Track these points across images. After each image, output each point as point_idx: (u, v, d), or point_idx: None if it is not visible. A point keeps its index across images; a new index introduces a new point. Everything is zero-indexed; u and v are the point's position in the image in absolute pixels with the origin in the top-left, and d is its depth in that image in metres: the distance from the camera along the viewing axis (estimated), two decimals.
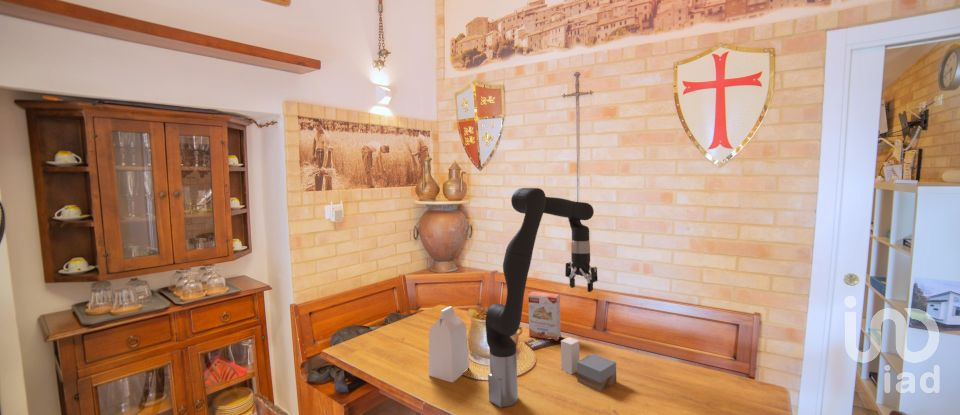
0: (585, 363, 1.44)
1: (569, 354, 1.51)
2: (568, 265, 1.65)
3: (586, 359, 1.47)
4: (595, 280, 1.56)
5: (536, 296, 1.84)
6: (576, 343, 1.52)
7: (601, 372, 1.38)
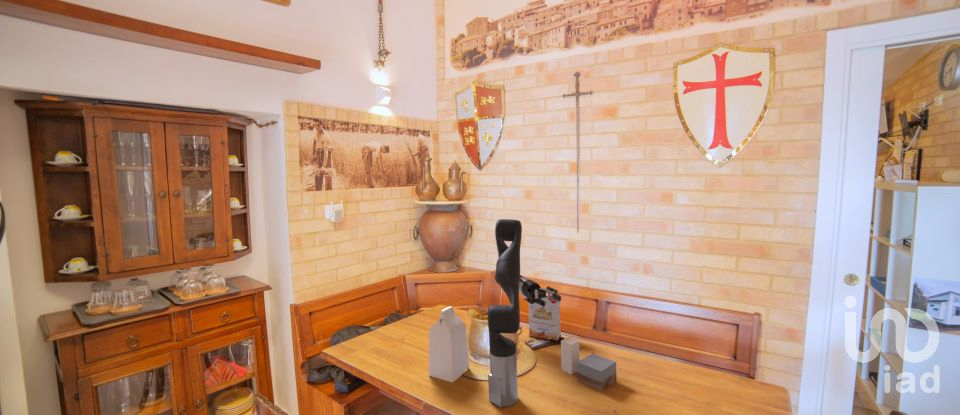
0: (585, 363, 1.44)
1: (569, 354, 1.51)
2: None
3: (586, 359, 1.47)
4: (556, 292, 1.66)
5: None
6: (576, 343, 1.52)
7: (602, 372, 1.38)
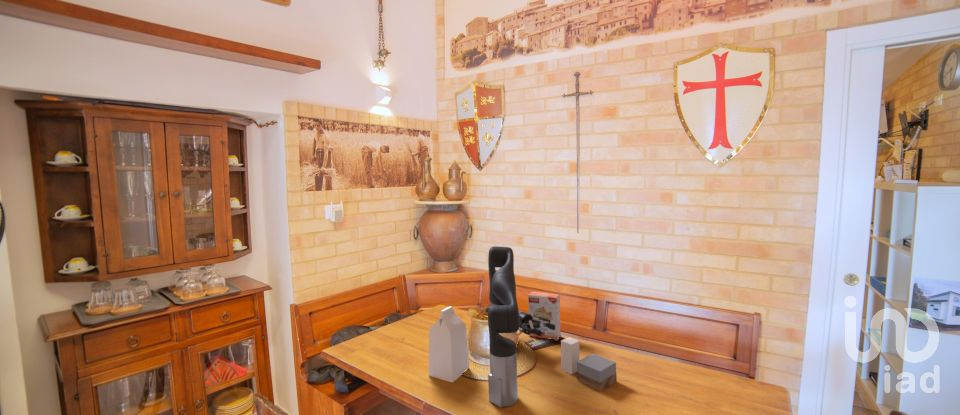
0: (585, 363, 1.44)
1: (569, 354, 1.51)
2: None
3: (586, 359, 1.47)
4: (549, 322, 1.70)
5: (536, 296, 1.84)
6: (576, 343, 1.52)
7: (601, 372, 1.38)
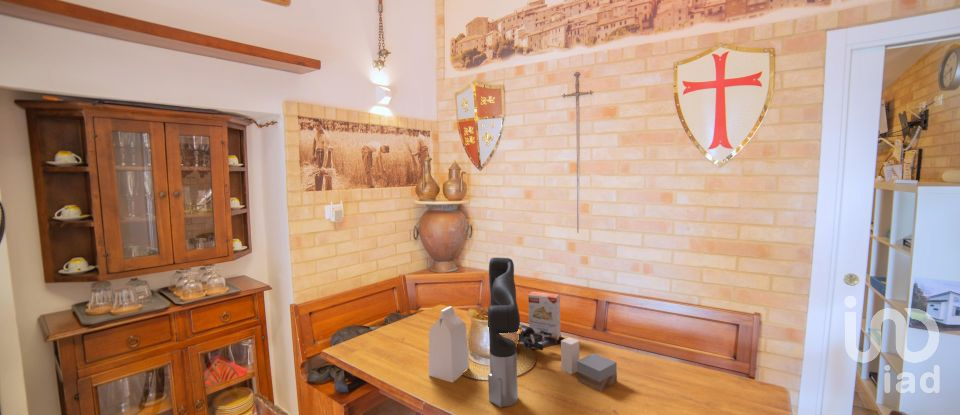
0: (585, 362, 1.44)
1: (569, 354, 1.51)
2: None
3: (586, 358, 1.47)
4: None
5: (536, 296, 1.84)
6: (576, 343, 1.52)
7: (600, 372, 1.38)
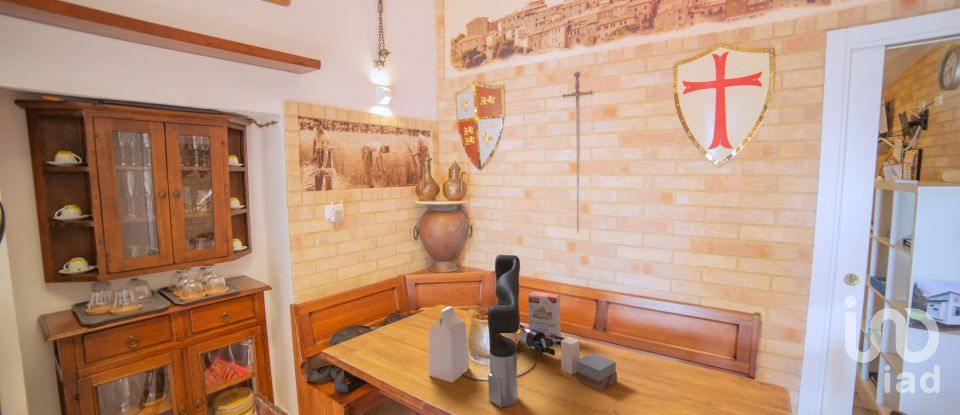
0: (585, 362, 1.44)
1: (569, 354, 1.51)
2: None
3: (586, 358, 1.47)
4: None
5: (536, 296, 1.84)
6: (576, 343, 1.52)
7: (600, 371, 1.38)
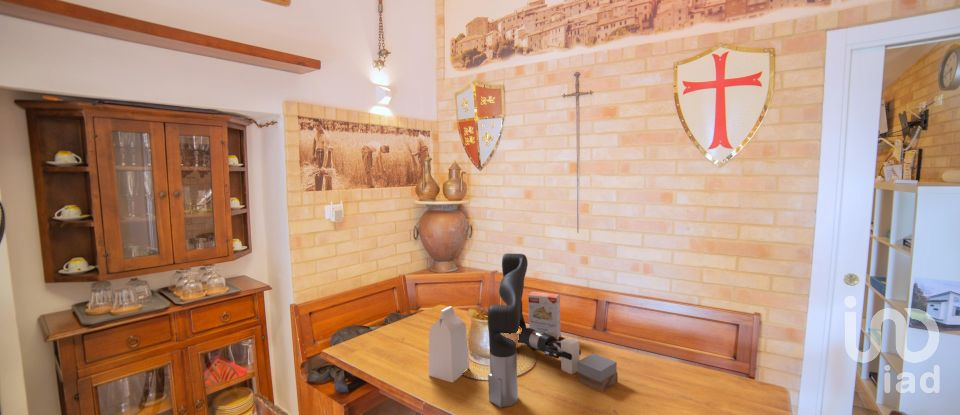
0: (585, 363, 1.44)
1: None
2: None
3: (586, 359, 1.47)
4: None
5: (536, 296, 1.84)
6: (576, 343, 1.52)
7: (601, 372, 1.38)
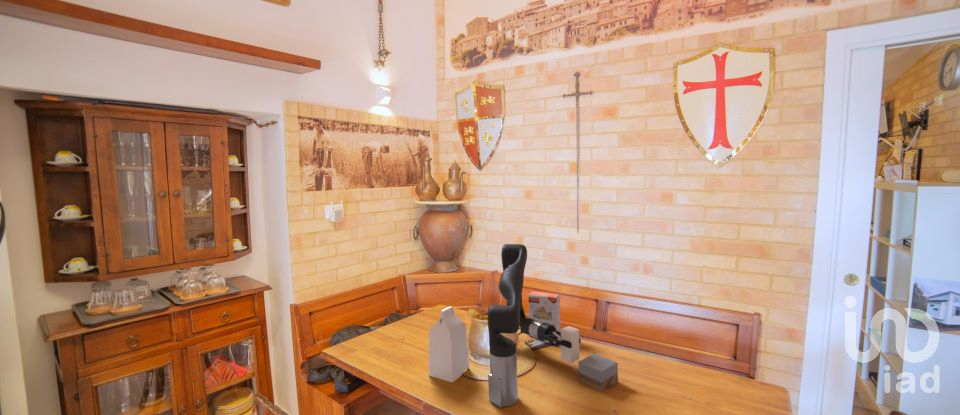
0: (586, 363, 1.44)
1: None
2: None
3: (587, 359, 1.47)
4: None
5: (536, 296, 1.84)
6: (576, 331, 1.51)
7: (602, 372, 1.38)
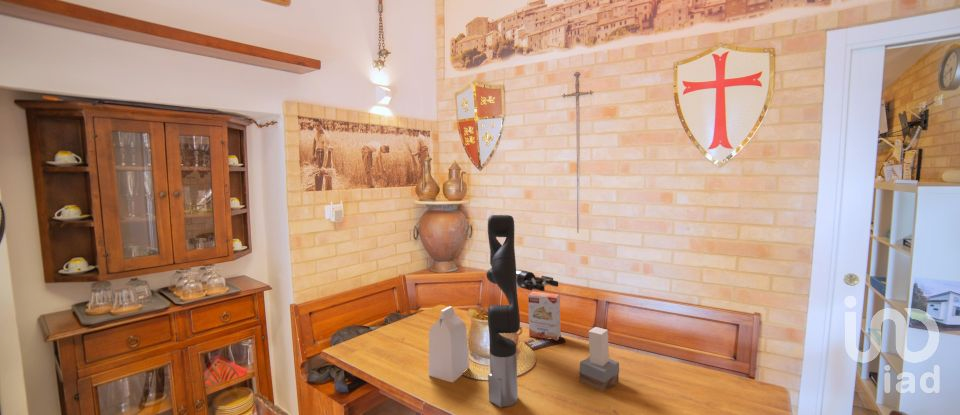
0: (588, 363, 1.43)
1: (599, 345, 1.41)
2: None
3: (589, 359, 1.46)
4: (552, 280, 1.67)
5: (536, 296, 1.84)
6: (605, 333, 1.42)
7: (605, 372, 1.37)
